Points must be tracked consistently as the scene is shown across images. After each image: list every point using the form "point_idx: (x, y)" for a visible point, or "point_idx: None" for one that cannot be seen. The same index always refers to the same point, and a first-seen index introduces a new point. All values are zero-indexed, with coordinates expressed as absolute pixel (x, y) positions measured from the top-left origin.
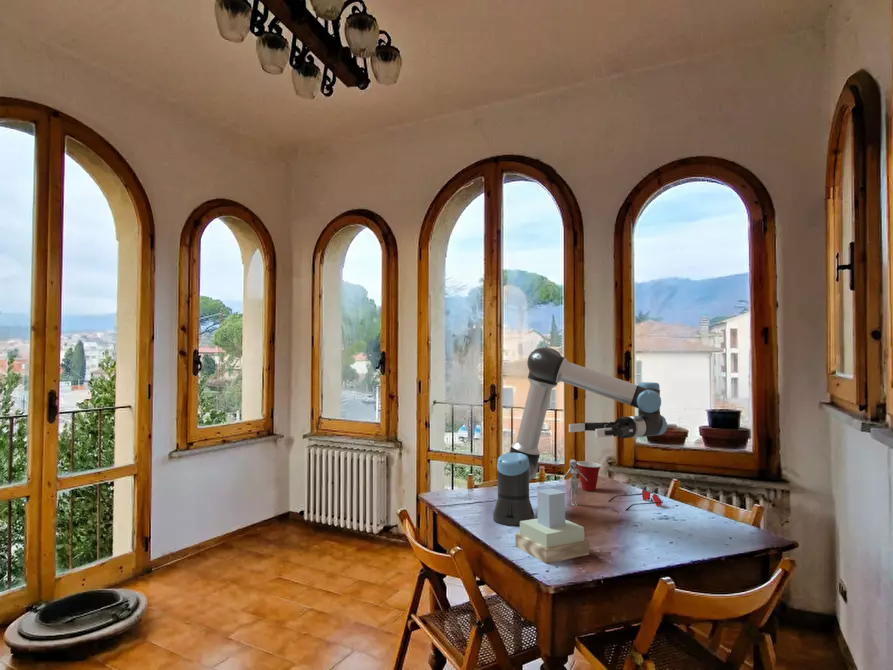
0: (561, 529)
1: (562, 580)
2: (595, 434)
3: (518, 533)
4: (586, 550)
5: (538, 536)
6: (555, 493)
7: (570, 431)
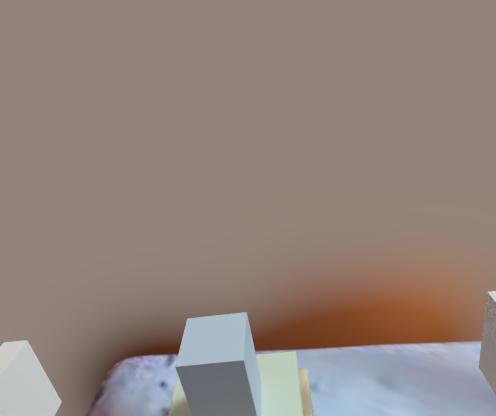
0: (182, 409)
1: (116, 387)
2: (48, 381)
3: (305, 374)
4: None
5: None
6: (188, 339)
7: (482, 363)
